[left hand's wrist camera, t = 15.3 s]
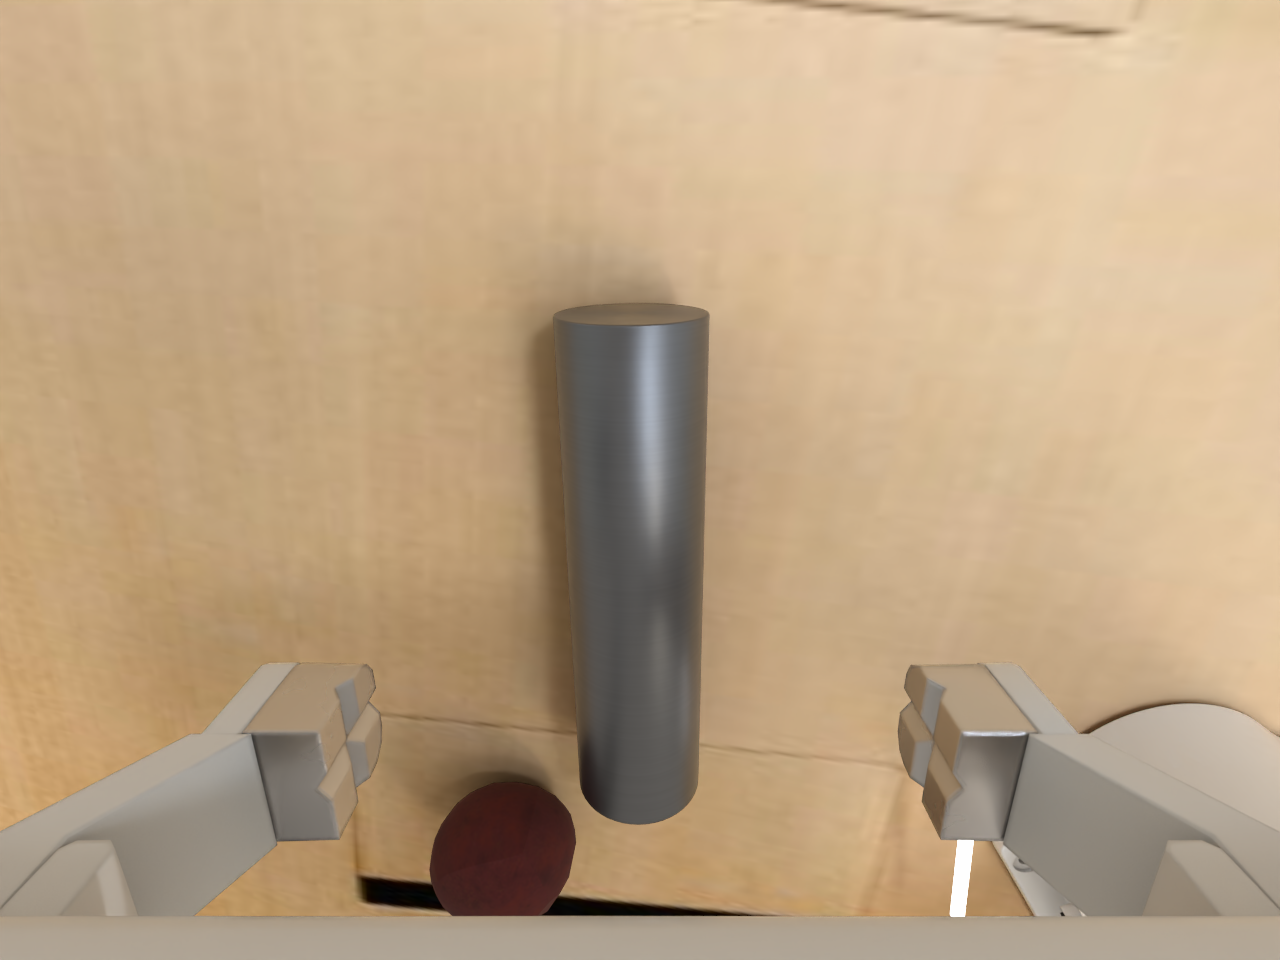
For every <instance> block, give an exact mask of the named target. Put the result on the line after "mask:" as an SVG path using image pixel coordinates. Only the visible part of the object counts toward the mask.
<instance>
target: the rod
mask: <svg viewBox="0 0 1280 960" xmlns="http://www.w3.org/2000/svg"><path fill="white" fill-rule="evenodd" d="M553 323H554V341H555V358H556V376H557V393H558V410H559V428H560V445H561V462H562V480H563V497H564V514H565V532H566V549H567V566H568V584H569V601H570V619H571V636H572V653H573V671H574V688H575V705H576V723H577V740H578V757H579V775H580V786H581V790H582V793H583V795H584V797H585V799H586V800H587V801H588V803H589V804H590V805H591V806H592V807H593V808H594V809H595V810H596V811H597V812H599V813H600V814H602V815H603V816H605V817H607V818H609V819H612V820H614V821H617V822H621V823H626V824H637V825H640V824H650V823H656V822H659V821H663V820H665V819H668V818H670V817H672V816H674V815H675V814H677V813H678V812H680V811H681V810H682V809H683V808H684V807H685V806H686V805H687V804H688V803H689V802H690V801H691V799H692V798H693V796H694V794H695V792H696V789H697V785H698V767H699V725H700V684H701V642H702V600H703V559H704V517H705V475H706V434H707V392H708V350H709V313H708V312H707V311H705V310H703V309H700V308H696V307H690V306H683V305H672V304H652V303H626V304H604V305H592V306H583V307H576V308H571V309H566V310H563V311H560V312H557V313H556V314H554V316H553Z"/></svg>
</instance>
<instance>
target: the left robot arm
mask: <svg viewBox="0 0 1280 960" xmlns="http://www.w3.org/2000/svg"><path fill="white" fill-rule="evenodd" d="M375 689H376V685H375V680H374V675H373V670H372V669H371V668H370V667H369V666H368V665H367V664H341V663H267V664H264V665H261V666H260V667H259V668H258V670H257V671H256V672H255V673H254V674H253V675H252V676H251V678H250V679H249V680H248V681H247V682H246V683H245V684H244V686H243V687H242V688H241V689H240V690H239V691H238V692H237V694H236V695H235V696H234V697H233V698H232V699H231V700H230V702H229V703H228V704H227V705H226V706H225V707H224V708H223V710H222V711H221V712H220V713H219V714H218V715H217V716H216V718H215V719H214V720H213V721H212V722H211V723H210V724H209V726H208V727H207V728H206V729H205V730H204V731H203V733H202V734H189V735H187V736H185V737H183V738H181V739H180V740H178V741H176V742H174V743H172V744H170V745H168V746H166V747H164V748H162V749H160V750H158V751H156V752H154V753H152V754H150V755H148V756H146V757H144V758H142V759H140V760H139V761H137V762H135V763H133V764H131V765H129V766H127V767H125V768H123V769H121V770H119V771H117V772H115V773H113V774H111V775H109V776H107V777H105V778H103V779H101V780H100V781H98V782H96V783H94V784H92V785H90V786H88V787H86V788H84V789H82V790H80V791H78V792H76V793H74V794H72V795H70V796H68V797H66V798H64V799H62V800H61V801H59V802H57V803H55V804H53V805H51V806H49V807H47V808H45V809H43V810H41V811H39V812H37V813H35V814H33V815H31V816H29V817H27V818H25V819H23V820H21V821H20V822H18V823H16V824H14V825H12V826H10V827H8V828H6V829H4V830H2V831H0V960H1280V737H1278V736H1276V735H1275V734H1273V733H1272V732H1270V731H1269V730H1268V729H1266V728H1265V727H1264V726H1262V725H1261V724H1260V723H1259V722H1257V721H1256V720H1254V719H1253V718H1251V717H1249V716H1247V715H1245V714H1243V713H1241V712H1238V711H1236V710H1233V709H1230V708H1226V707H1222V706H1217V705H1210V704H1197V703H1186V704H1172V705H1165V706H1159V707H1154V708H1149V709H1145V710H1142V711H1138V712H1135V713H1132V714H1129V715H1126V716H1123V717H1121V718H1119V719H1116V720H1114V721H1112V722H1110V723H1108V724H1105V725H1103V726H1102V727H1100V728H1098V729H1096V730H1094V731H1093V732H1091V733H1089V734H1078V733H1077V731H1076V730H1075V729H1074V728H1073V727H1072V726H1071V725H1070V723H1069V722H1068V721H1067V720H1066V719H1065V718H1064V717H1063V715H1062V714H1061V713H1060V712H1059V711H1058V710H1057V708H1056V707H1055V706H1054V705H1053V704H1052V703H1051V702H1050V700H1049V699H1048V698H1047V697H1046V696H1045V695H1044V694H1043V692H1042V691H1041V690H1040V689H1039V688H1038V687H1037V686H1036V684H1035V683H1034V682H1033V681H1032V680H1031V679H1030V678H1029V676H1028V675H1027V674H1026V673H1025V672H1024V671H1023V670H1022V668H1021V667H1020V666H1018V665H1016V664H1014V663H1012V662H999V663H978V664H940V665H911V666H910V668H909V670H908V672H907V674H906V679H905V685H904V689H905V691H906V692H907V694H908V696H909V698H910V699H911V702H910V703H909V704H908V705H907V706H906V707H905V708H904V709H903V710H902V711H901V712H900V718H899V726H898V738H899V749H900V753H901V757H902V760H903V764H904V766H905V768H906V770H907V772H908V774H909V777H910V778H911V779H913V780H914V781H916V782H917V783H918V784H920V785H921V786H922V787H924V791H923V797H922V803H923V805H924V807H925V809H926V811H927V813H928V815H929V817H930V819H931V821H932V823H933V825H934V827H935V829H936V831H937V833H938V835H939V837H940V839H941V840H958V845H957V854H956V864H955V873H954V882H953V892H952V901H951V910H950V915H951V916H194V915H195V914H197V913H198V912H199V911H200V910H201V909H202V908H204V907H205V906H206V905H207V904H208V903H210V902H211V901H212V900H213V899H214V898H215V897H217V896H218V895H219V894H220V893H221V892H222V891H224V890H225V889H226V888H227V887H228V886H229V885H231V884H232V883H233V882H234V881H235V880H237V879H238V878H239V877H240V876H241V875H242V874H244V873H245V872H246V871H247V870H248V869H249V868H251V867H252V866H253V865H254V864H255V863H256V862H258V861H259V860H260V859H261V858H262V857H263V856H265V855H266V854H267V853H268V852H269V851H271V850H272V849H273V848H274V847H275V846H276V845H277V841H309V840H339V839H340V837H341V835H342V833H343V831H344V829H345V827H346V825H347V823H348V821H349V819H350V817H351V815H352V813H353V811H354V809H355V807H356V805H357V803H358V797H357V791H356V787H358V786H359V785H360V784H362V783H363V782H364V781H366V780H367V779H369V778H370V777H371V774H372V772H373V770H374V768H375V766H376V764H377V761H378V756H379V752H380V747H381V743H382V724H381V717H380V712H379V711H378V710H377V709H376V708H375V707H374V706H373V705H372V704H371V703H370V702H369V699H370V698H371V696H372V694H373V692H374V691H375ZM973 841H992V842H993V845H994V847H995V849H996V850H997V852H998V854H999V856H1000V857H1001V859H1002V861H1003V863H1004V864H1005V866H1006V868H1007V869H1008V871H1009V873H1010V875H1011V876H1012V878H1013V880H1014V882H1015V883H1016V885H1017V887H1018V889H1019V890H1020V892H1021V894H1022V895H1023V897H1024V899H1025V901H1026V902H1027V904H1028V906H1029V908H1030V909H1031V911H1032V913H1033V915H1034V916H965V908H966V899H967V891H968V883H969V874H970V866H971V857H972V849H973Z"/></svg>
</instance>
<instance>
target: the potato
mask: <svg viewBox="0 0 1280 960" xmlns="http://www.w3.org/2000/svg"><path fill="white" fill-rule="evenodd" d="M575 845H576V838H575V829H574V825H573V821H572V818H571V814H570V813H569V811H568V810H567V808H566V807H565V806H564V805H563V804H562V802H561V801H560V800H559V799H558V798H557V797H556V796H555V795H553V794H551V793H549V792H547V791H545V790H544V789H542V788H540V787H538V786H533V785H528V784H524V783H519V782H505V783H492V784H490V785H487V786H485V787H482V788H480V789H477V790H475V791H473V792H472V793H470V794H468V795H467V796H466V797H465V798H463V799H462V800H461V801H460V802H458V803H457V804H456V806H455V807H454V808H453V809H452V811H451V812H450V813H449V815H448V816H447V817H446V819H445V820H444V821H443V823H442V824H441V827H440V829H439V831H438V833H437V835H436V837H435V840H434V845H433V849H432V855H431V863H430V876H431V883H432V885H433V888H434V890H435V893H436V895H437V897H438V899H439V901H440V902H441V904H442V906H443V907H444V908H445V909H446V910H447V911H448V912H449V913H450V914H451V915H452V916H540V915H542V914H543V913H545V912H547V911H548V910H549V908H550V907H551V905H552V904H553V902H554V901H555V899H556V898H557V897H558V895H559V894H560V892H561V890H562V888H563V887H564V885H565V883H566V881H567V879H568V878H569V874H570V869H571V864H572V859H573V854H574V850H575Z"/></svg>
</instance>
